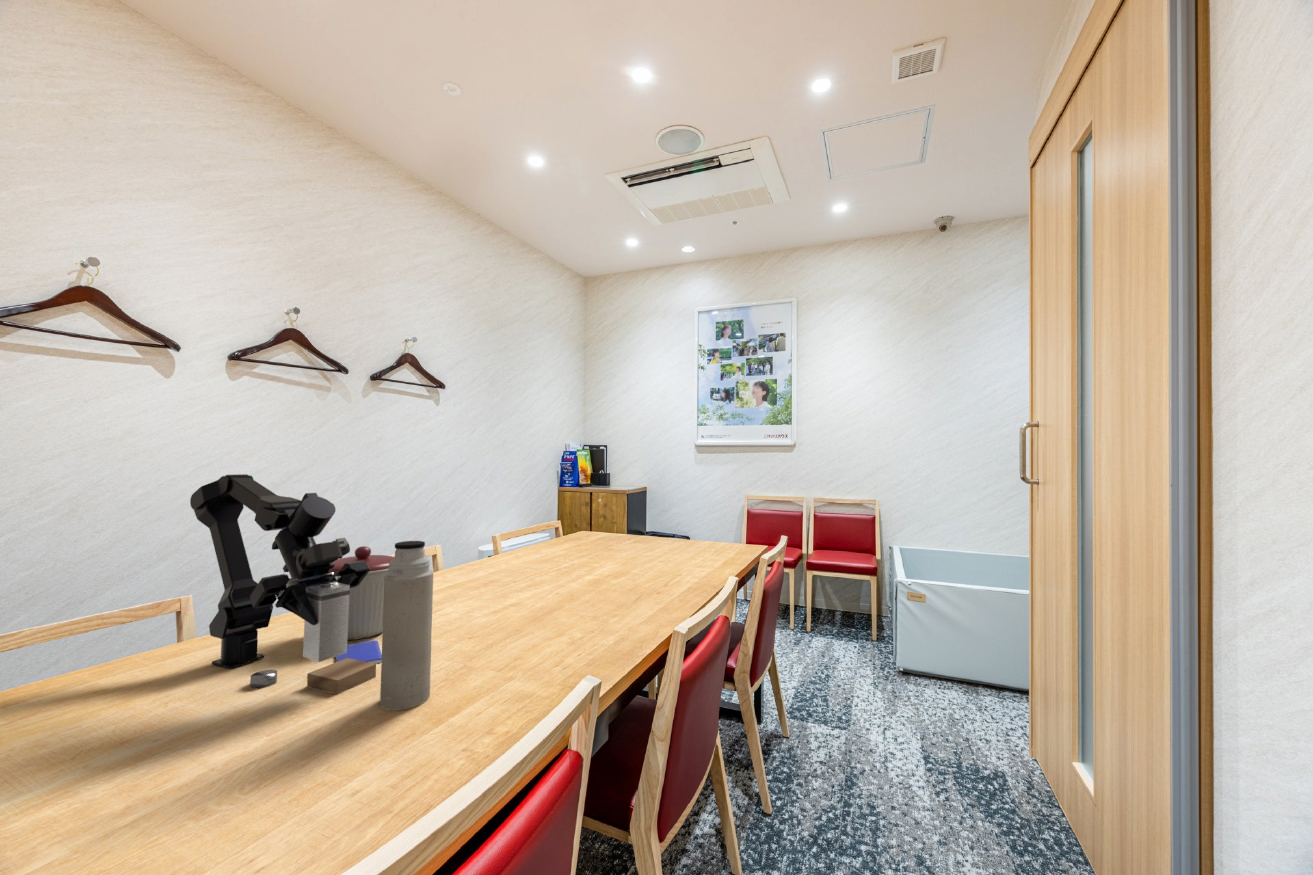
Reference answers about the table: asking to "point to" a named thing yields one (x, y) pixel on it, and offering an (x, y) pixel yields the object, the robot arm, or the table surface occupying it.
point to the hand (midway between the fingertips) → (331, 619)
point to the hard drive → (363, 652)
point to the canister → (366, 594)
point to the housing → (327, 621)
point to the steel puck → (263, 678)
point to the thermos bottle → (407, 628)
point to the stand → (341, 675)
